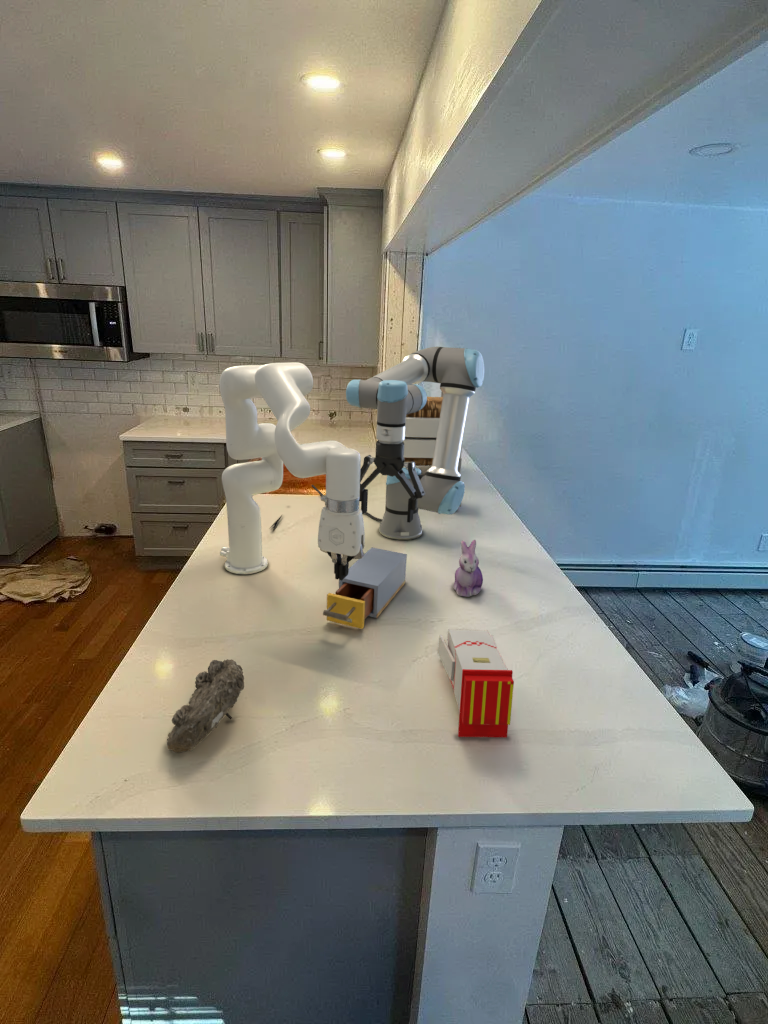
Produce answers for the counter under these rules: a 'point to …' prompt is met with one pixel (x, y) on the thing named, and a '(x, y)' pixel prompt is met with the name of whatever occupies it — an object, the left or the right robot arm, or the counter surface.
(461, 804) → the counter surface
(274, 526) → the feather
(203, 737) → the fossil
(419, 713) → the counter surface
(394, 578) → the cabinet
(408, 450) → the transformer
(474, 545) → the figurine
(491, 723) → the toy
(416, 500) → the right robot arm
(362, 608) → the drawer
